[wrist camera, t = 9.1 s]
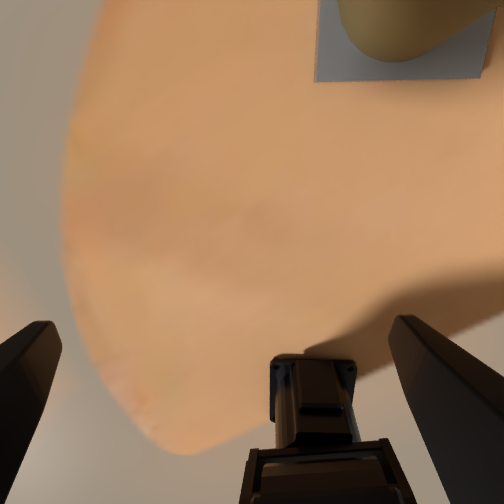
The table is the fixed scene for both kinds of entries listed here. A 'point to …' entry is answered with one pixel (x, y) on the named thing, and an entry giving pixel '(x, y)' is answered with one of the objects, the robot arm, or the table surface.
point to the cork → (407, 24)
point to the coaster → (420, 68)
